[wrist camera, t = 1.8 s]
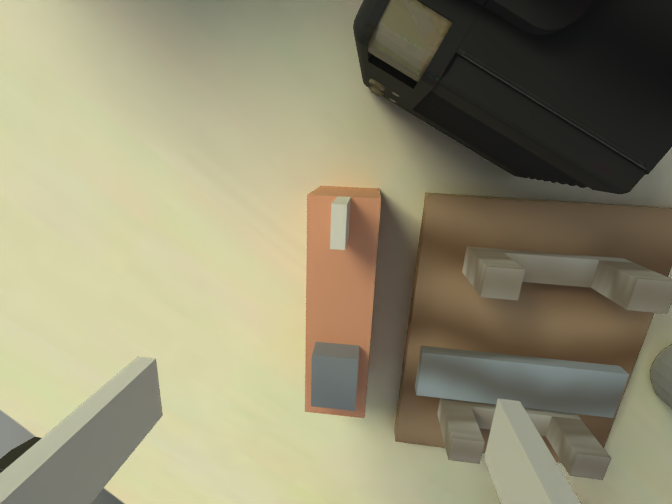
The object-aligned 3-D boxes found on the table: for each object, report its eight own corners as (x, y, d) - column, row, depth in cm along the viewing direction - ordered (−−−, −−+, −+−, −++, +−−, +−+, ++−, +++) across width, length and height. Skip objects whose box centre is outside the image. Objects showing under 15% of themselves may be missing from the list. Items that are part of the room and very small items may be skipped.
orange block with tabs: (321, 185, 25) (296, 201, 17) (379, 188, 25) (382, 206, 17) (317, 365, 30) (296, 445, 22) (365, 369, 29) (363, 453, 21)
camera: (440, -99, 19) (625, -791, 5) (633, 26, 20) (1263, -276, 6) (348, 81, 23) (307, -38, 8) (517, 183, 23) (742, 232, 9)
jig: (425, 192, 24) (440, 204, 19) (676, 208, 23) (768, 225, 17) (394, 430, 31) (398, 488, 25) (587, 454, 29) (635, 522, 24)
